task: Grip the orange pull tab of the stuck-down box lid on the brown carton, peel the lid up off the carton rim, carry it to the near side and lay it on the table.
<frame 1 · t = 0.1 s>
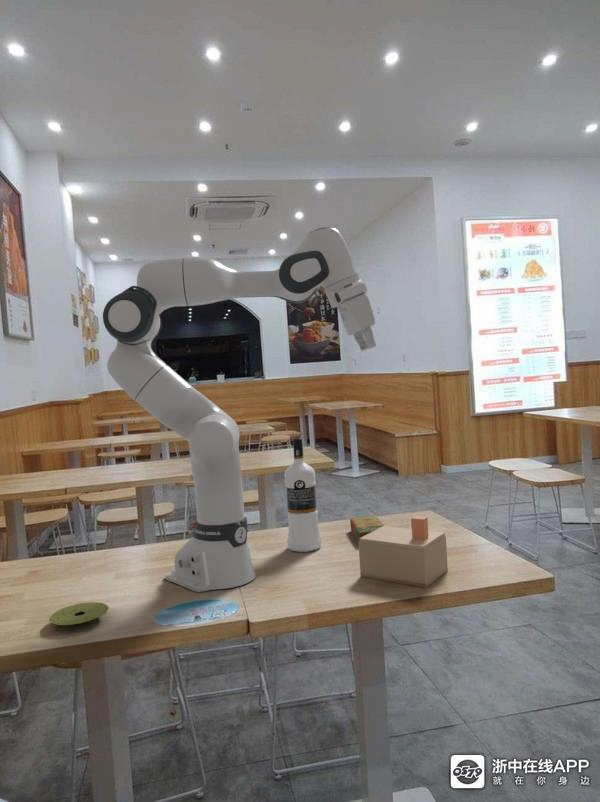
hand: (368, 348, 138), 52 cm above the table, tool tilted 20°, fingers open, 8 cm apart
green disc: (80, 623, 118), on the table
brown carton: (404, 573, 134), on the table
box lid: (402, 539, 133), point 8 cm above the table, touching brown carton
carton: (369, 539, 165), on the table
vodka: (304, 548, 159), on the table
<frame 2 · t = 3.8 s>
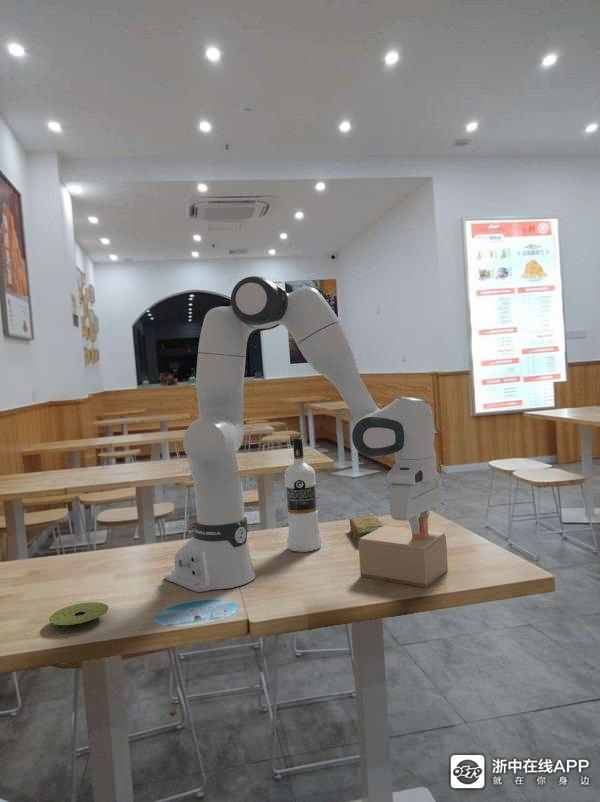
hand: (419, 531, 131), 10 cm above the table, tool pointing down, fingers closed on box lid
box lid: (402, 539, 133), point 8 cm above the table, touching brown carton, gripper
everything else where it was.
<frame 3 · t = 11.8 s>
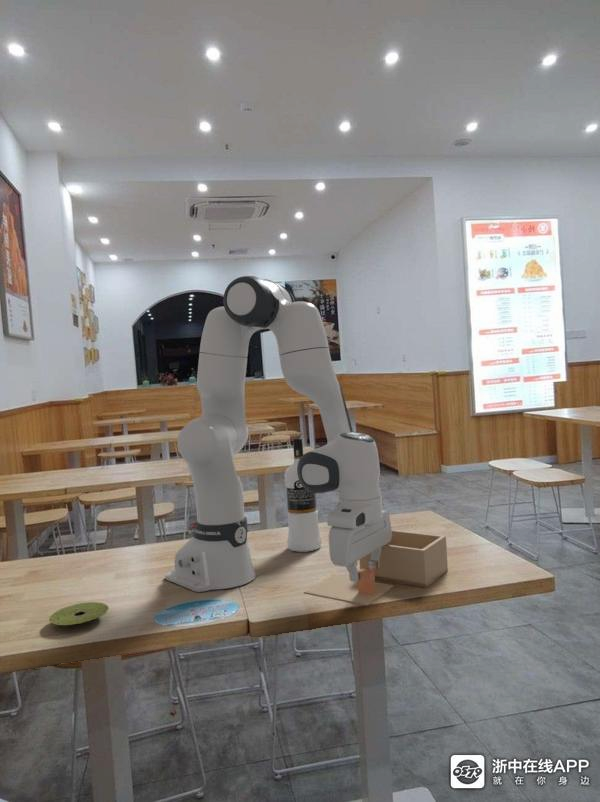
hand: (365, 574, 124), 4 cm above the table, tool pointing down, fingers open, 7 cm apart
box lid: (348, 592, 126), on the table
everything else where it was.
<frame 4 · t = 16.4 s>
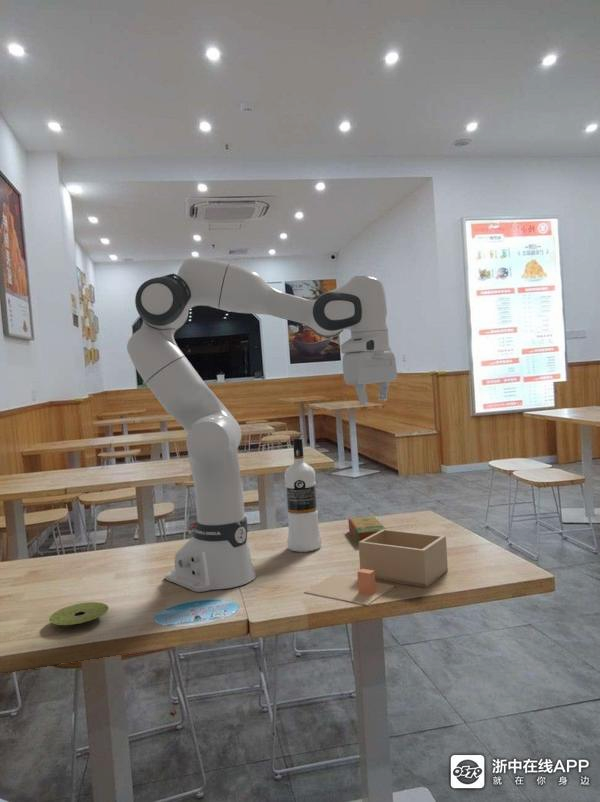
hand: (373, 402, 141), 39 cm above the table, tool pointing down, fingers open, 8 cm apart
nothing on the table moved.
at the end: box lid inside the target area (2.0 cm from its centre), on the table; the gripper is holding nothing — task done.
